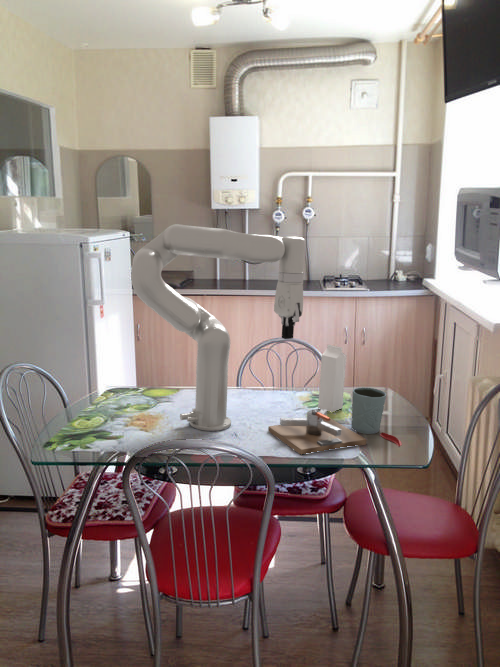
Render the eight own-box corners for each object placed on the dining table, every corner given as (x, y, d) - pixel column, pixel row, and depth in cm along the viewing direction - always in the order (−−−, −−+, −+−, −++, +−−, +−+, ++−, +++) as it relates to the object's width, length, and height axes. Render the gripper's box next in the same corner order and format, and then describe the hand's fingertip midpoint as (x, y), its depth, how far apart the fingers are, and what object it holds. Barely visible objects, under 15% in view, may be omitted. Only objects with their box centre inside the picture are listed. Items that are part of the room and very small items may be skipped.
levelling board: (300, 455, 162) (301, 449, 162) (268, 431, 178) (268, 426, 178) (366, 444, 172) (366, 439, 171) (329, 422, 188) (329, 418, 188)
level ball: (329, 442, 166) (329, 437, 166) (326, 440, 167) (326, 435, 167) (333, 441, 167) (333, 437, 166) (330, 439, 168) (330, 435, 168)
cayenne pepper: (405, 449, 171) (406, 442, 170) (389, 449, 170) (390, 442, 170) (391, 433, 182) (392, 427, 182) (377, 433, 182) (377, 427, 182)
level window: (321, 446, 164) (321, 444, 164) (316, 443, 167) (316, 441, 166) (342, 443, 168) (342, 440, 167) (337, 440, 170) (337, 437, 170)
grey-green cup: (347, 422, 189) (350, 386, 187) (379, 424, 189) (382, 388, 187) (352, 434, 179) (355, 396, 177) (385, 435, 179) (389, 397, 177)
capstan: (338, 444, 165) (340, 422, 164) (277, 432, 172) (279, 410, 171) (352, 426, 180) (354, 406, 178) (295, 416, 187) (296, 396, 185)
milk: (332, 413, 198) (337, 349, 193) (317, 408, 202) (321, 345, 197) (342, 409, 202) (347, 346, 198) (327, 405, 206) (332, 343, 202)
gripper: (268, 275, 183) (265, 334, 186) (292, 281, 170) (288, 344, 173) (289, 275, 186) (285, 332, 190) (314, 281, 173) (310, 342, 177)
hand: (287, 338), depth 181 cm, fingers closed
